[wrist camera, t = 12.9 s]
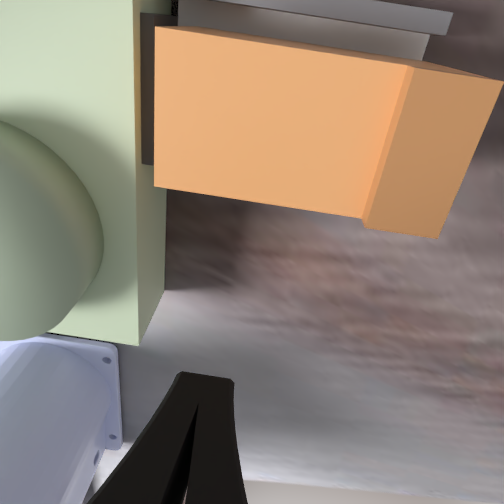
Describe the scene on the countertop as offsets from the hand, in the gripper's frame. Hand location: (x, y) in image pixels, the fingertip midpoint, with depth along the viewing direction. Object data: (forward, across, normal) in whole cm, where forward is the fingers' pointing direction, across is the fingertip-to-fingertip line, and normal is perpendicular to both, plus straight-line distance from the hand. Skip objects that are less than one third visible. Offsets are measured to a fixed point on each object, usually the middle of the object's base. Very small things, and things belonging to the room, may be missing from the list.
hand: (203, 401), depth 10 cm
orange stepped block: (+9, -2, -6) cm, 11 cm away
